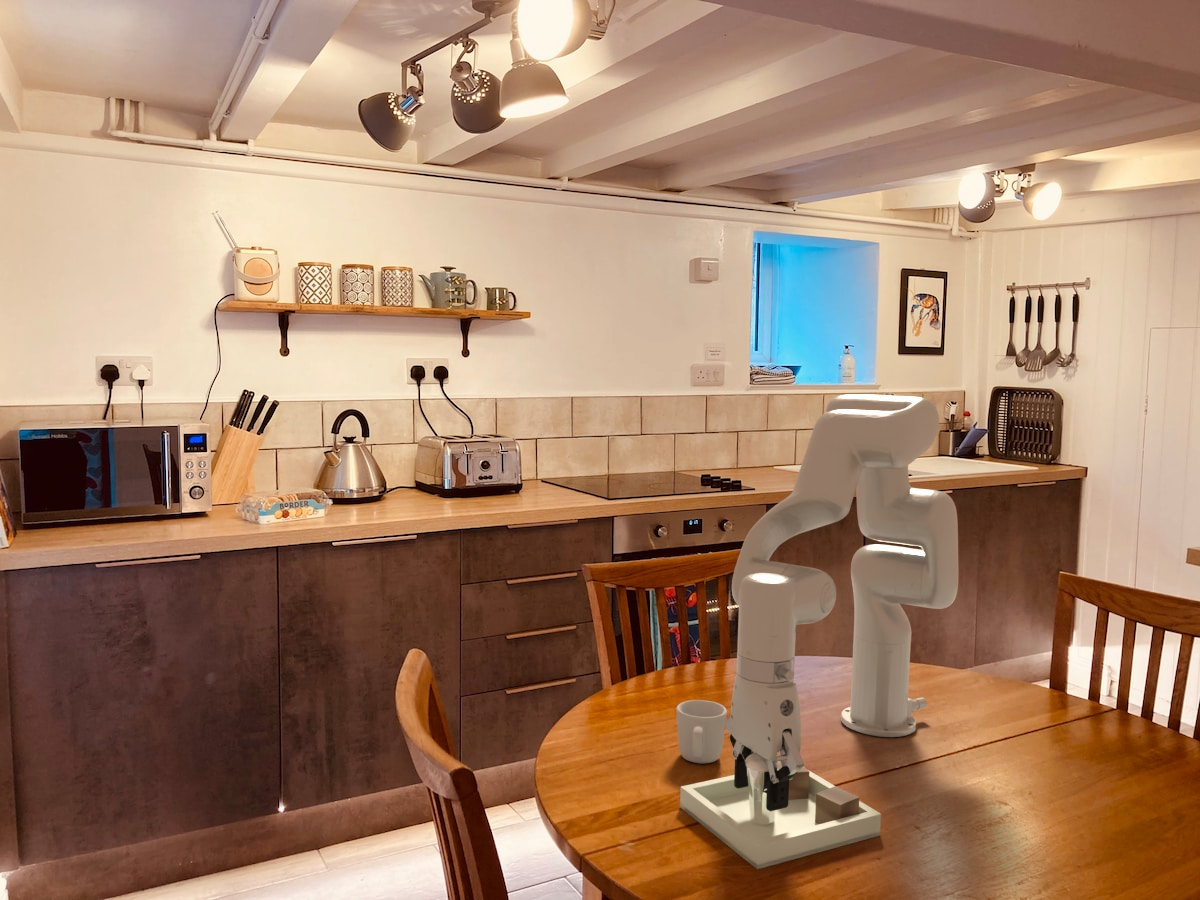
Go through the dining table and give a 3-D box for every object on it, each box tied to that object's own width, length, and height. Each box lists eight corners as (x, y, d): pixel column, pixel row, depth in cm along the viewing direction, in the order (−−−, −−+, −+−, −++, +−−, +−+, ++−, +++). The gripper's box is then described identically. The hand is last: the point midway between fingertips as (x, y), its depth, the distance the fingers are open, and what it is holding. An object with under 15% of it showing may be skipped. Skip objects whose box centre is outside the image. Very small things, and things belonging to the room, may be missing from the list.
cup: (722, 778, 141) (724, 726, 141) (669, 772, 143) (671, 721, 142) (727, 750, 152) (728, 702, 151) (678, 745, 153) (679, 697, 153)
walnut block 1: (796, 786, 138) (797, 759, 137) (808, 798, 134) (809, 771, 133) (771, 788, 137) (772, 761, 136) (781, 800, 133) (783, 773, 133)
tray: (793, 781, 141) (794, 761, 140) (880, 835, 125) (881, 813, 125) (680, 807, 132) (680, 786, 131) (757, 869, 116) (758, 846, 115)
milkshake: (736, 812, 129) (735, 742, 128) (774, 810, 130) (774, 740, 128) (744, 829, 125) (743, 757, 124) (783, 826, 125) (783, 754, 124)
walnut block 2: (834, 814, 129) (835, 786, 129) (858, 825, 126) (859, 797, 126) (815, 822, 127) (816, 793, 126) (838, 834, 124) (840, 805, 123)
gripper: (831, 683, 119) (825, 819, 121) (749, 646, 134) (745, 767, 136) (783, 692, 116) (778, 831, 117) (705, 652, 131) (701, 776, 132)
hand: (760, 795), depth 127 cm, fingers open, 6 cm apart
